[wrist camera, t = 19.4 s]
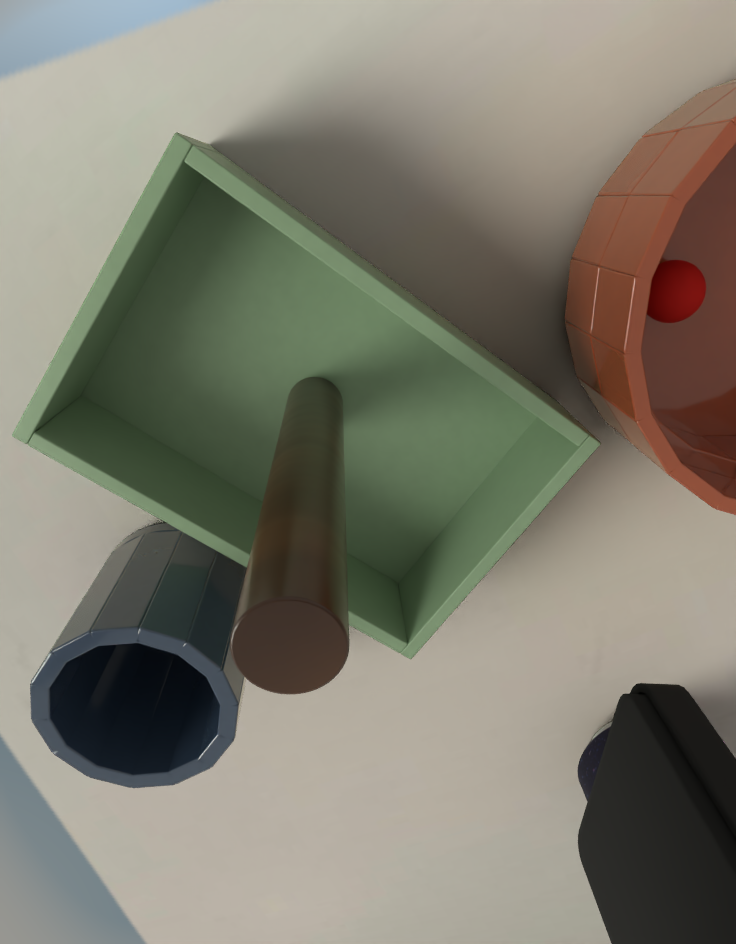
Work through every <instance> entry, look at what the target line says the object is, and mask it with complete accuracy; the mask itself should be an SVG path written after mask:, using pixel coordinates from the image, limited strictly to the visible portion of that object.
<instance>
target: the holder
mask: <svg viewBox="0 0 736 944" xmlns="http://www.w3.org/2000/svg"><path fill="white" fill-rule="evenodd" d="M246 570H247V567H245V566H243V565H241V564H239V563H238V562H236V561H234V560H232V559H230V558H229V557H227V556H225V555H223V554H222V553H220V552H218V551H216V550H214V549H213V548H211V547H209V546H207V545H205V544H204V543H202V542H200V541H198V540H197V539H195V538H193V537H191V536H189V535H188V534H186V533H184V532H182V531H180V530H179V529H177V528H175V527H173V526H172V525H170V524H168V523H161V524H156V525H152V526H148V527H146V528H143V529H140V530H138V531H136V532H135V533H133V534H131V535H129V536H128V537H127V538H125V539H124V540H123V541H122V542H121V543H120V544H119V545H118V546H117V547H116V548H115V549H114V551H113V552H112V553H111V555H110V556H109V558H108V559H107V561H106V563H105V564H104V566H103V567H102V569H101V570H100V572H99V574H98V575H97V577H96V578H95V580H94V582H93V583H92V585H91V586H90V588H89V589H88V591H87V593H86V594H85V596H84V597H83V599H82V601H81V602H80V604H79V605H78V607H77V609H76V610H75V612H74V613H73V615H72V617H71V618H70V620H69V621H68V623H67V625H66V626H65V628H64V629H63V631H62V633H61V634H60V636H59V637H58V639H57V640H56V642H55V644H54V645H53V647H52V648H51V650H50V652H49V653H48V655H47V656H46V658H45V660H44V661H43V663H42V664H41V666H40V668H39V669H38V671H37V672H36V674H35V676H34V677H33V679H32V680H31V684H30V695H31V719H32V722H33V724H34V725H35V727H36V728H37V730H38V732H39V733H40V735H41V736H42V738H43V739H44V741H45V743H46V744H47V746H48V747H49V749H50V750H51V752H53V754H54V755H56V756H57V757H59V758H60V759H62V760H63V761H65V762H66V763H68V764H69V765H71V766H72V767H74V768H75V769H77V770H78V771H80V772H81V773H83V774H84V775H86V776H89V777H90V778H93V779H97V780H101V781H105V782H109V783H113V784H117V785H121V786H125V787H129V788H131V787H132V788H142V787H155V786H168V785H175V784H178V783H180V782H182V781H184V780H186V779H188V778H191V777H193V776H195V775H197V774H199V773H201V772H203V771H206V770H208V769H210V768H211V767H213V766H214V764H215V763H216V762H217V761H218V759H219V758H220V757H221V756H222V754H223V753H224V752H225V751H226V749H227V748H228V747H229V746H230V745H231V743H232V742H233V741H234V738H235V736H236V731H237V725H238V720H239V715H240V709H241V704H242V699H243V693H244V688H245V683H246V678H245V677H244V676H243V675H242V674H241V673H240V671H239V670H238V669H237V667H236V665H235V663H234V661H233V659H232V656H231V652H230V636H231V632H232V628H233V623H234V619H235V615H236V611H237V607H238V603H239V599H240V594H241V590H242V586H243V582H244V578H245V574H246Z"/></svg>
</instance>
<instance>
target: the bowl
mask: <svg viewBox="0 0 736 944" xmlns="http://www.w3.org/2000/svg"><path fill="white" fill-rule="evenodd" d="M572 258H573V259H571V261H570V271H569V281H568V290H567V300H566V310H565V326H566V331H567V335H568V340H569V345H570V349H571V354H572V358H573V363H574V368H575V372H576V375H577V378H578V380H579V381H580V383H581V385H582V386H583V388H584V389H585V391H586V392H587V394H588V396H589V397H590V399H591V400H592V402H593V404H594V405H595V407H596V408H597V410H598V412H599V413H600V415H601V416H602V418H603V419H604V420H605V421H606V422H607V423H608V424H609V425H611V426H612V427H613V428H614V429H615V430H617V431H618V432H619V433H620V434H621V435H622V436H624V437H625V438H626V439H627V440H628V441H629V442H631V443H632V444H633V445H634V446H635V447H636V448H638V449H639V450H640V451H641V452H642V453H643V454H645V455H646V456H647V457H648V458H649V459H651V460H652V461H653V462H654V463H655V464H656V465H658V466H659V467H660V468H661V469H662V470H663V471H665V472H666V473H667V474H668V475H669V476H671V477H672V478H673V479H675V480H676V481H678V482H679V483H680V484H682V485H683V486H684V487H686V488H687V489H688V490H690V491H691V492H692V493H694V494H695V495H696V496H698V497H699V498H700V499H702V500H703V501H704V502H706V503H707V504H709V505H710V506H711V507H713V508H715V509H716V510H720V511H723V512H727V513H730V514H734V515H736V79H734V80H731V81H728V82H726V83H723V84H720V85H717V86H715V87H712V88H709V89H706V90H704V91H703V92H700V93H698V94H697V95H696V96H694V97H693V98H692V99H690V100H689V101H688V102H686V103H685V104H684V105H682V106H681V107H680V108H678V109H677V110H676V111H674V112H673V113H672V114H670V115H669V116H668V117H666V118H665V119H664V120H662V121H661V122H660V123H658V124H657V125H656V126H654V127H653V128H652V129H650V130H649V131H648V132H646V133H645V134H644V135H643V136H642V138H641V139H639V141H638V142H637V143H636V145H635V146H634V147H633V149H632V150H631V151H630V152H629V154H628V155H627V156H626V158H625V159H624V160H623V162H622V163H621V164H620V165H619V167H618V168H617V169H616V171H615V172H614V173H613V175H612V176H611V177H610V178H609V180H608V181H607V182H606V184H605V185H604V186H603V188H602V189H601V190H600V191H599V196H597V197H596V198H595V201H594V203H593V206H592V208H591V211H590V213H589V216H588V218H587V221H586V223H585V225H584V228H583V230H582V233H581V235H580V238H579V240H578V243H577V245H576V248H575V250H574V252H573V255H572ZM668 260H684V261H687V262H690V263H692V264H693V265H695V266H696V267H697V268H698V269H699V270H700V271H701V272H702V274H703V276H704V278H705V282H706V294H705V298H704V300H703V303H702V304H701V306H700V307H699V309H698V310H697V311H696V312H695V313H694V314H693V315H691V316H690V317H688V318H687V319H685V320H682V321H679V322H675V323H663V322H659V321H656V320H654V319H652V318H651V317H649V316H648V315H647V309H648V302H649V295H650V289H651V282H652V278H653V276H654V274H655V271H656V269H657V267H658V265H659V264H660V263H662V262H665V261H668Z"/></svg>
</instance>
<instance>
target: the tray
mask: <svg viewBox="0 0 736 944" xmlns="http://www.w3.org/2000/svg"><path fill="white" fill-rule="evenodd" d="M309 377H320V378H324V379H326V380H328V381H330V382H332V383H333V384H334V385H335V386H336V387H337V388H338V390H339V391H340V393H341V396H342V400H343V428H344V465H345V503H346V541H347V579H348V616H349V625H350V626H352V627H354V628H356V629H357V630H359V631H361V632H363V633H364V634H366V635H368V636H370V637H372V638H373V639H375V640H377V641H379V642H381V643H382V644H384V645H386V646H388V647H389V648H391V649H393V650H395V651H397V652H398V653H401V654H402V655H404V656H406V657H407V658H409V659H412V658H413V657H414V655H415V654H416V653H417V652H418V651H419V650H420V649H421V648H422V646H423V645H424V644H425V643H426V642H427V641H428V640H429V638H430V637H431V636H432V635H433V634H434V633H435V632H436V631H437V629H438V628H439V627H440V626H441V625H442V624H443V623H444V621H445V620H446V619H447V618H448V617H449V616H450V615H451V613H452V612H453V611H454V610H455V609H456V608H457V607H458V606H459V604H460V603H461V602H462V601H463V600H464V599H465V598H466V596H467V595H468V594H469V593H470V592H471V591H472V590H473V588H474V587H475V586H476V585H477V584H478V583H479V582H480V581H481V579H482V578H483V577H484V576H485V575H486V574H487V573H488V571H489V570H490V569H491V568H492V567H493V566H494V565H495V564H496V562H497V561H498V560H499V559H500V558H501V557H502V556H503V554H504V553H505V552H506V551H507V550H508V549H509V548H510V546H511V545H512V544H513V543H514V542H515V541H516V540H517V539H518V537H519V536H520V535H521V534H522V533H523V532H524V531H525V529H526V528H527V527H528V526H529V525H530V524H531V523H532V521H533V520H534V519H535V518H536V517H537V516H538V515H539V514H540V512H541V511H542V510H543V509H544V508H545V507H546V506H547V504H548V503H549V502H550V501H551V500H552V499H553V498H554V496H555V495H556V494H557V493H558V492H559V491H560V490H561V489H562V487H563V486H564V485H565V484H566V483H567V482H568V481H569V479H570V478H571V477H572V476H573V475H574V474H575V473H576V472H577V470H578V469H579V468H580V467H581V466H582V465H583V464H584V462H585V461H586V460H587V459H588V458H589V457H590V456H591V454H592V453H593V452H594V451H595V450H596V449H597V448H598V447H599V445H600V444H601V443H600V442H599V441H598V440H597V439H596V438H595V437H594V436H593V435H592V434H591V433H590V432H589V431H588V430H587V429H586V428H585V427H584V426H582V425H581V424H580V423H579V422H578V421H577V420H576V419H575V418H574V417H573V416H572V415H571V414H570V413H569V412H568V411H567V410H566V409H565V408H563V407H562V406H561V405H560V404H559V403H558V402H557V401H556V400H554V399H553V398H552V397H550V396H549V395H548V394H546V393H545V392H544V391H542V390H541V389H539V388H538V387H537V386H535V385H534V384H533V383H531V382H530V381H529V380H527V379H526V378H525V377H523V376H522V375H520V374H519V373H518V372H516V371H515V370H514V369H512V368H511V367H510V366H508V365H507V364H506V363H504V362H503V361H502V360H500V359H499V358H497V357H496V356H495V355H493V354H492V353H491V352H489V351H488V350H487V349H485V348H484V347H483V346H481V345H480V344H478V343H477V342H476V341H474V340H473V339H472V338H470V337H469V336H468V335H466V334H465V333H464V332H462V331H461V330H459V329H458V328H457V327H455V326H454V325H453V324H451V323H450V322H449V321H447V320H446V319H445V318H443V317H442V316H440V315H439V314H438V313H436V312H435V311H434V310H432V309H431V308H430V307H428V306H427V305H426V304H424V303H423V302H422V301H420V300H419V299H417V298H416V297H415V296H413V295H412V294H411V293H409V292H408V291H407V290H405V289H404V288H403V287H401V286H400V285H398V284H397V283H396V282H394V281H393V280H392V279H390V278H389V277H388V276H386V275H385V274H384V273H382V272H381V271H379V270H378V269H377V268H375V267H374V266H373V265H371V264H370V263H369V262H367V261H366V260H365V259H363V258H362V257H360V256H359V255H358V254H356V253H355V252H354V251H352V250H351V249H350V248H348V247H347V246H346V245H344V244H343V243H342V242H340V241H339V240H337V239H336V238H335V237H333V236H332V235H331V234H329V233H328V232H327V231H325V230H324V229H323V228H321V227H320V226H318V225H317V224H316V223H314V222H313V221H312V220H310V219H309V218H308V217H306V216H305V215H304V214H302V213H301V212H299V211H298V210H297V209H295V208H294V207H293V206H291V205H290V204H289V203H287V202H286V201H285V200H283V199H282V198H280V197H279V196H278V195H276V194H275V193H274V192H272V191H271V190H270V189H268V188H267V187H266V186H264V185H263V184H262V183H260V182H259V181H257V180H256V179H255V178H253V177H252V176H251V175H249V174H248V173H247V172H245V171H244V170H243V169H241V168H240V167H238V166H237V165H236V164H234V163H233V162H232V161H230V160H229V159H228V158H226V157H225V156H224V155H222V154H221V153H219V152H218V151H217V150H215V149H214V148H213V147H211V146H210V145H209V144H206V143H203V142H201V141H198V140H195V139H193V138H190V137H187V136H185V135H182V134H179V133H175V134H174V136H173V138H172V140H171V141H170V143H169V145H168V147H167V149H166V151H165V153H164V154H163V156H162V158H161V160H160V162H159V164H158V166H157V167H156V169H155V171H154V173H153V175H152V177H151V179H150V180H149V182H148V184H147V186H146V188H145V190H144V191H143V193H142V195H141V197H140V199H139V201H138V203H137V204H136V206H135V208H134V210H133V212H132V214H131V216H130V217H129V219H128V221H127V223H126V225H125V227H124V229H123V230H122V232H121V234H120V236H119V238H118V240H117V242H116V243H115V245H114V247H113V249H112V251H111V253H110V254H109V256H108V258H107V260H106V262H105V264H104V266H103V267H102V269H101V271H100V273H99V275H98V277H97V279H96V280H95V282H94V284H93V286H92V288H91V290H90V292H89V293H88V295H87V297H86V299H85V301H84V303H83V304H82V306H81V308H80V310H79V312H78V314H77V316H76V317H75V319H74V321H73V323H72V325H71V327H70V329H69V330H68V332H67V334H66V336H65V338H64V340H63V342H62V343H61V345H60V347H59V349H58V351H57V353H56V354H55V356H54V358H53V360H52V362H51V364H50V366H49V367H48V369H47V371H46V373H45V375H44V377H43V379H42V380H41V382H40V384H39V386H38V388H37V390H36V392H35V393H34V395H33V397H32V399H31V401H30V403H29V404H28V406H27V408H26V410H25V412H24V414H23V416H22V417H21V419H20V421H19V423H18V425H17V427H16V429H15V430H14V432H13V434H12V436H13V437H14V438H16V439H18V440H20V441H22V442H23V443H25V444H28V445H29V446H30V447H32V448H34V449H36V450H38V451H39V452H41V453H43V454H45V455H46V456H48V457H50V458H52V459H54V460H55V461H57V462H59V463H61V464H63V465H64V466H66V467H68V468H70V469H71V470H73V471H75V472H77V473H79V474H80V475H82V476H84V477H86V478H88V479H89V480H91V481H93V482H95V483H97V484H98V485H100V486H102V487H104V488H105V489H107V490H109V491H111V492H113V493H114V494H116V495H118V496H120V497H122V498H123V499H125V500H127V501H129V502H130V503H132V504H134V505H136V506H138V507H139V508H141V509H143V510H145V511H147V512H148V513H150V514H152V515H154V516H155V517H157V518H159V519H161V520H163V521H164V522H166V523H168V524H170V525H172V526H173V527H175V528H177V529H179V530H180V531H182V532H184V533H186V534H188V535H189V536H191V537H193V538H195V539H197V540H198V541H200V542H202V543H204V544H205V545H207V546H209V547H211V548H213V549H214V550H216V551H218V552H220V553H222V554H223V555H225V556H227V557H229V558H230V559H232V560H234V561H236V562H238V563H239V564H241V565H243V566H245V567H247V565H248V561H249V557H250V553H251V549H252V545H253V541H254V536H255V532H256V528H257V524H258V520H259V516H260V511H261V507H262V503H263V499H264V495H265V491H266V487H267V482H268V478H269V474H270V470H271V466H272V462H273V458H274V453H275V449H276V445H277V441H278V437H279V433H280V429H281V424H282V420H283V416H284V412H285V408H286V404H287V400H288V396H289V393H290V391H291V389H292V388H293V387H294V385H295V384H297V383H298V382H299V381H301V380H303V379H305V378H309Z"/></svg>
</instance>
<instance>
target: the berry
mask: <svg viewBox="0 0 736 944" xmlns="http://www.w3.org/2000/svg"><path fill="white" fill-rule="evenodd" d="M705 294H706V282H705V278H704V276H703V274H702V272H701V271H700V270H699V269H698V268H697V267H696V266H695V265H693V264H692V263H690V262H687V261H684V260H668V261H665V262H662V263H660V264H659V265H658V267H657V269H656V271H655V274H654V276H653V278H652V282H651V289H650V295H649V302H648V309H647V315H648V316H649V317H651V318H652V319H654V320H656V321H659V322H663V323H675V322H679V321H682V320H685V319H687V318H688V317H690V316H691V315H693V314H694V313H695V312H696V311H697V310H698V309H699V307H700V306H701V304H702V303H703V300H704V298H705Z"/></svg>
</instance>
